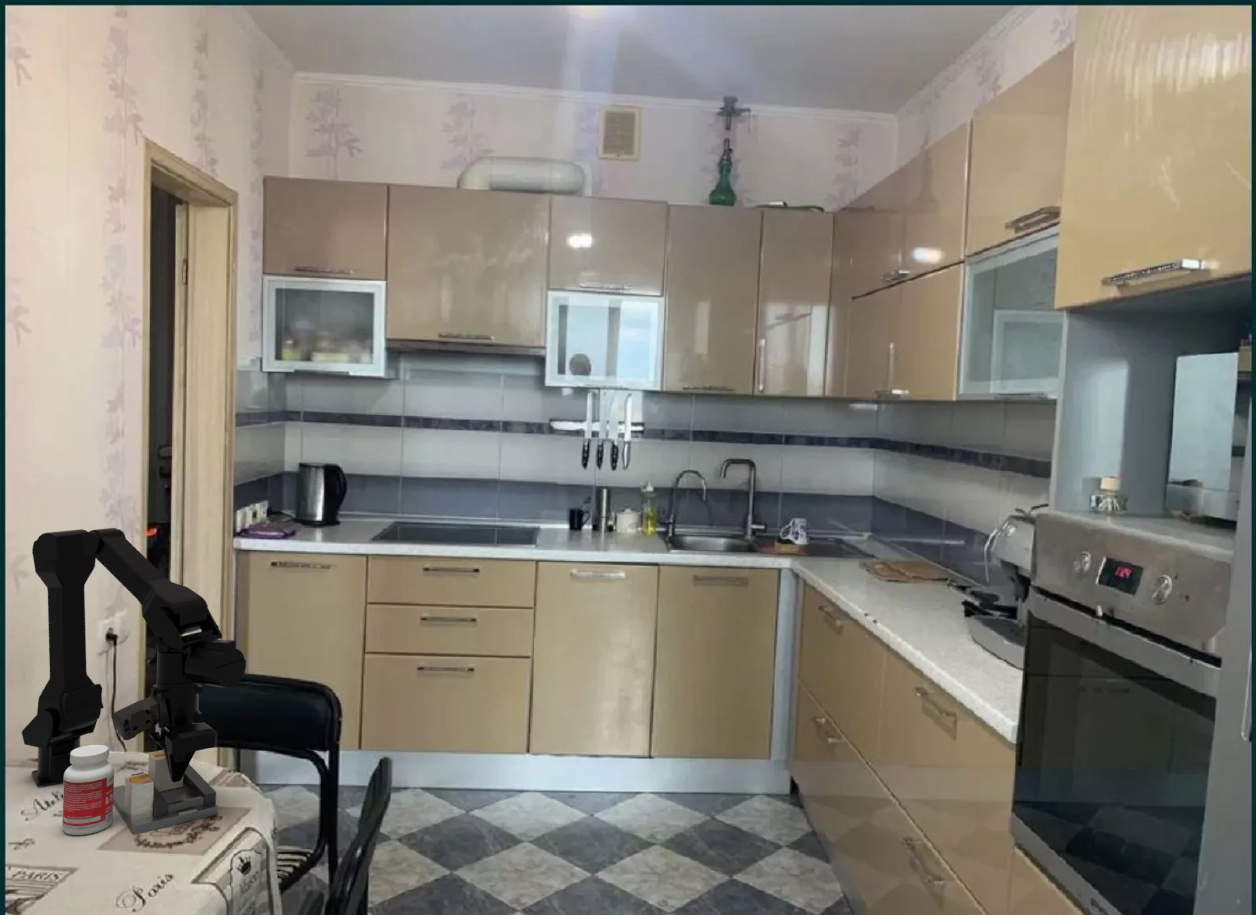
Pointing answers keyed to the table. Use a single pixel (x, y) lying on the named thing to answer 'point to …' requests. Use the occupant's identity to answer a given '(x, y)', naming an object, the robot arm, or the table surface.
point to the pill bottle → (88, 791)
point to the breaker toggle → (161, 772)
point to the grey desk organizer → (163, 802)
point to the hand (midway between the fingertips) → (175, 781)
